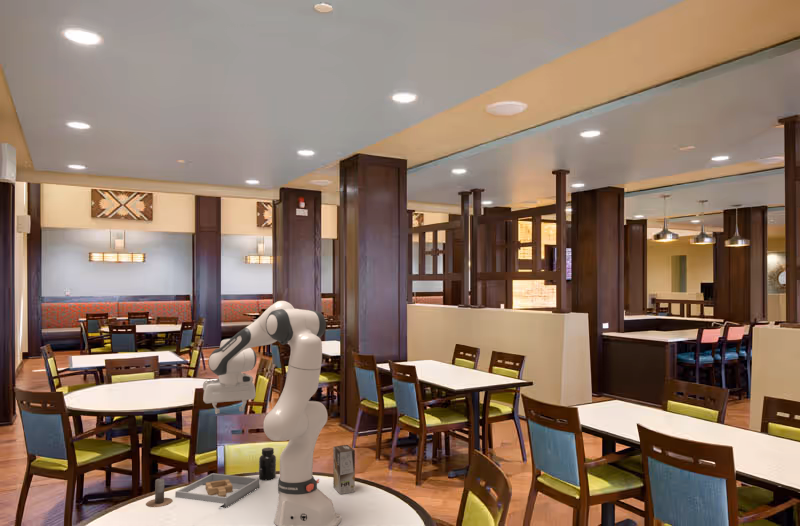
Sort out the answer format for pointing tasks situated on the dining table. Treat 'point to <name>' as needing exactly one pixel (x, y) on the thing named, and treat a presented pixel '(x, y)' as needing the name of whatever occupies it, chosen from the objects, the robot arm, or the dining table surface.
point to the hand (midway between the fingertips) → (229, 412)
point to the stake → (159, 495)
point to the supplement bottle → (267, 464)
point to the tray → (238, 482)
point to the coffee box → (344, 469)
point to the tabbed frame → (219, 487)
